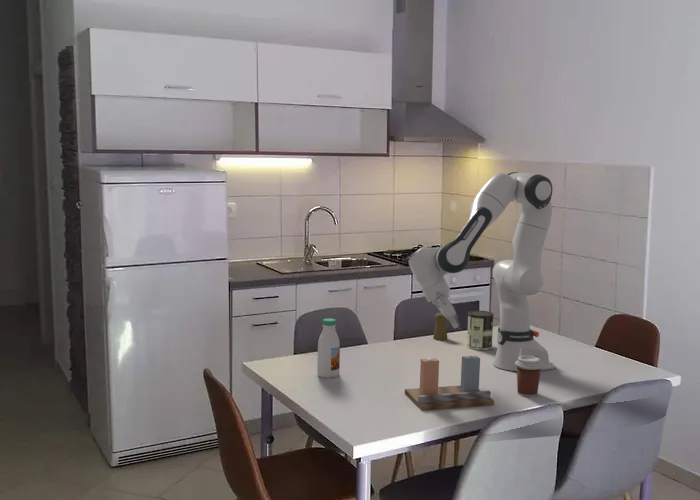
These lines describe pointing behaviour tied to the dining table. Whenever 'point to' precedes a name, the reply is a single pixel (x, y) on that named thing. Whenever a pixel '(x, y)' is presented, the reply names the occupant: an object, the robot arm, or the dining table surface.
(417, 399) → the board
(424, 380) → the tile one
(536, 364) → the coffee cup
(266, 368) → the dining table surface
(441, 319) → the pepper mill
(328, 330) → the milk bottle
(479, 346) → the coffee can
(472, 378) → the tile two
